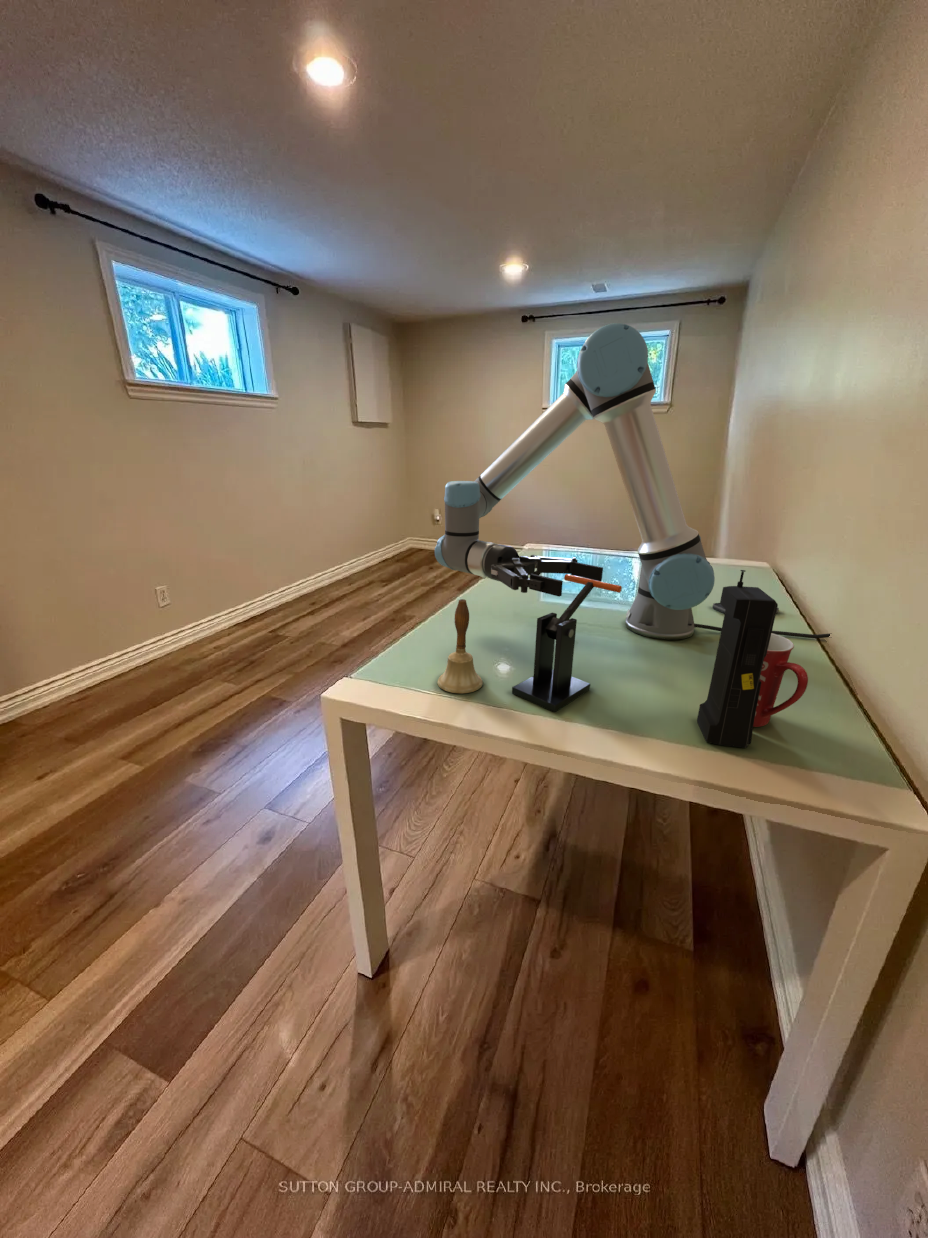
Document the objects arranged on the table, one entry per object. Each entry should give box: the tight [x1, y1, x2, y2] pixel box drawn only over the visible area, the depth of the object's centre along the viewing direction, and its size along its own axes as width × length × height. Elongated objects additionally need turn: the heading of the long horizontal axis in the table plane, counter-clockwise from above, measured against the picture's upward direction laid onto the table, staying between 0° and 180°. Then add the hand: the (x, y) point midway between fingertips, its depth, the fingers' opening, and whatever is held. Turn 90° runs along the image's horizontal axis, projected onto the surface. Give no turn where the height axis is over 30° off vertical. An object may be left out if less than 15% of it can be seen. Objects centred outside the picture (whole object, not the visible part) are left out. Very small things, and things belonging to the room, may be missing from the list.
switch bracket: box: [511, 612, 591, 713], centre depth 85 cm, size 11×9×14 cm
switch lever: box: [545, 574, 623, 641], centre depth 85 cm, size 14×11×2 cm
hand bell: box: [436, 598, 484, 694], centre depth 87 cm, size 8×8×16 cm
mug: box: [753, 633, 809, 728], centre depth 76 cm, size 13×9×14 cm
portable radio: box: [696, 569, 779, 749], centre depth 70 cm, size 8×6×25 cm
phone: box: [712, 602, 780, 615], centre depth 130 cm, size 8×1×15 cm
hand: (582, 581), depth 89 cm, fingers open, 13 cm apart
